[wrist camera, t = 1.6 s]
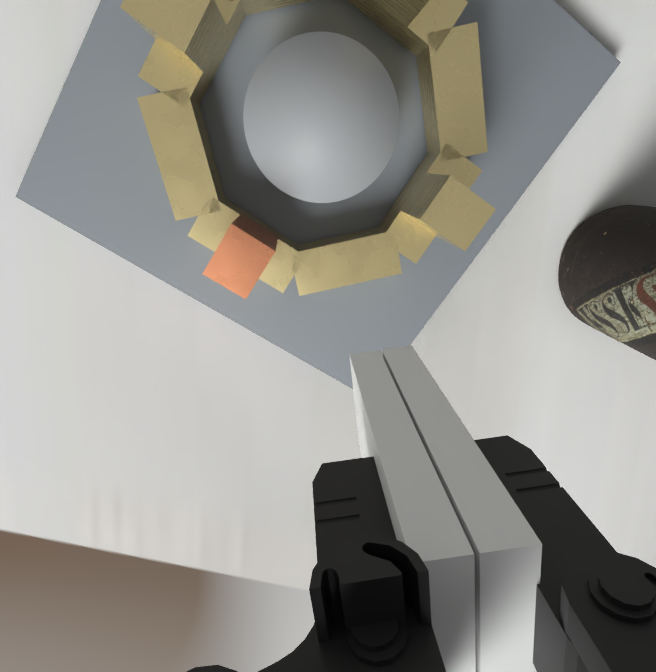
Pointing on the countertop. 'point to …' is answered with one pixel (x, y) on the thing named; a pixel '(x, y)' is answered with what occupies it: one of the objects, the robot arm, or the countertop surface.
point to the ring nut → (342, 250)
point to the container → (614, 275)
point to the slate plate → (340, 318)
